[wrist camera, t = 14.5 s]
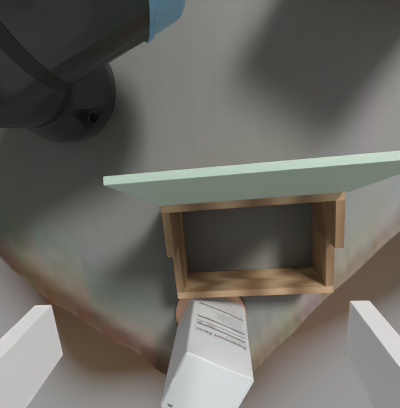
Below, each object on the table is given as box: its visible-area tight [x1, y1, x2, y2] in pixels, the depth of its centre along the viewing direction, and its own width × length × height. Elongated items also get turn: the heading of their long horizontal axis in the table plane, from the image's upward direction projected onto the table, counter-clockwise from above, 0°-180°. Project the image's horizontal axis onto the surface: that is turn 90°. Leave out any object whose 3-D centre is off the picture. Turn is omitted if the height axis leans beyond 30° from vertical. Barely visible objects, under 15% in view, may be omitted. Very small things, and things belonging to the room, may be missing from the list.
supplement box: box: [160, 297, 254, 408], centre depth 40 cm, size 9×9×15 cm
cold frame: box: [161, 192, 345, 299], centre depth 40 cm, size 22×15×9 cm
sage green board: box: [103, 151, 400, 206], centre depth 25 cm, size 22×15×1 cm
